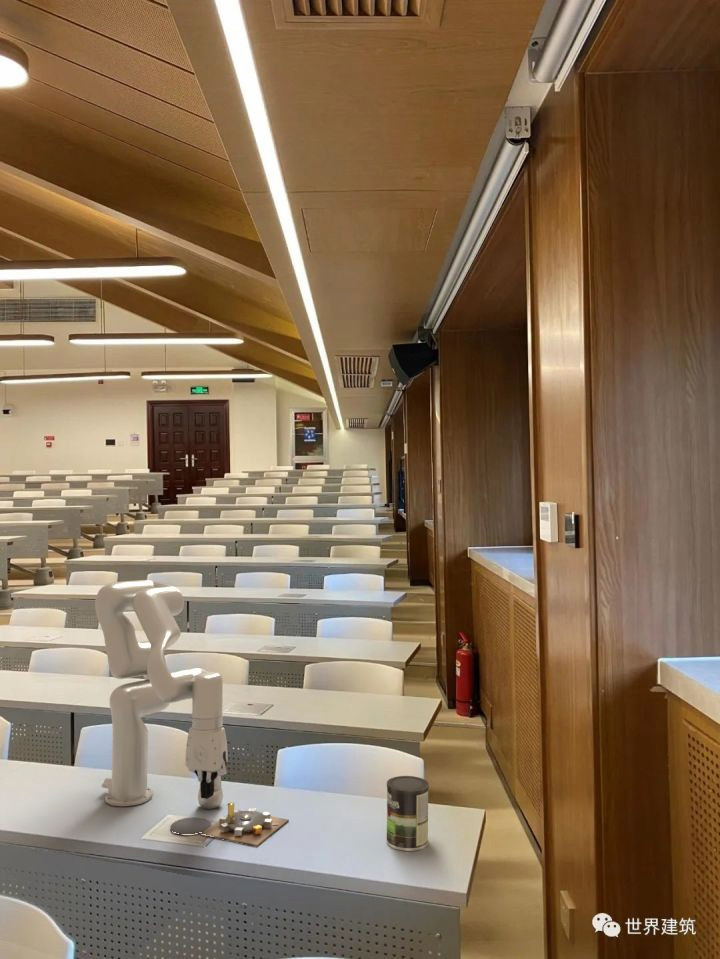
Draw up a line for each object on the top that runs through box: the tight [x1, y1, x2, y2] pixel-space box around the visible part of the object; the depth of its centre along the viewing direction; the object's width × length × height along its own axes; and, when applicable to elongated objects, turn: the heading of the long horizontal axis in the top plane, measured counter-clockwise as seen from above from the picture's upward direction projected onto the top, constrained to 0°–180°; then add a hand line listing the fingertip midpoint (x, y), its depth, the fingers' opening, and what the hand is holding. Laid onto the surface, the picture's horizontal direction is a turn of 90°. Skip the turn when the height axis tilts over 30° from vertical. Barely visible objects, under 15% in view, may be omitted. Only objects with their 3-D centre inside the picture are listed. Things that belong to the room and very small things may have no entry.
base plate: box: [200, 809, 290, 848], centre depth 186 cm, size 16×16×1 cm
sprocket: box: [218, 802, 272, 836], centre depth 186 cm, size 13×13×6 cm
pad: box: [170, 816, 212, 834], centre depth 186 cm, size 10×10×1 cm
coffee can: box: [385, 775, 430, 852], centre depth 179 cm, size 10×10×14 cm
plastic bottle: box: [197, 776, 224, 810], centre depth 200 cm, size 6×7×20 cm
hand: (207, 796), depth 186 cm, fingers closed
